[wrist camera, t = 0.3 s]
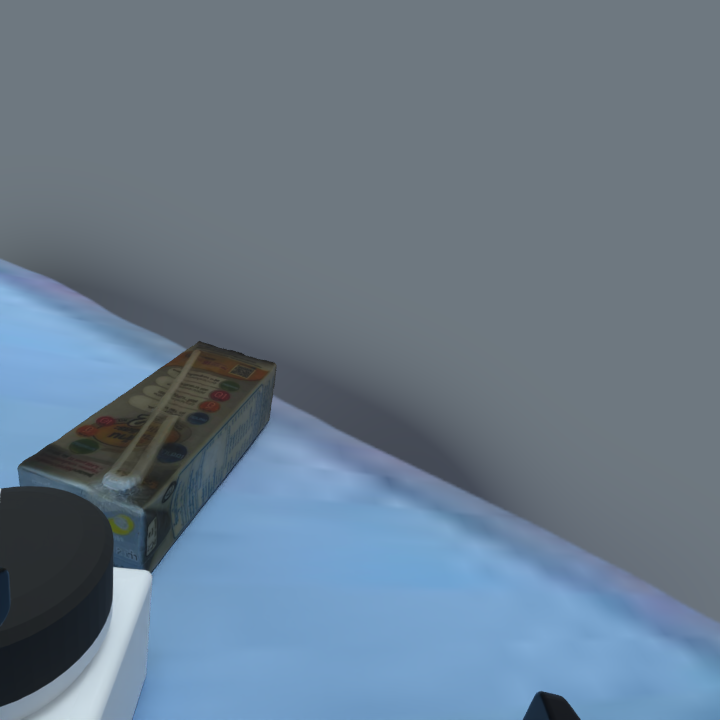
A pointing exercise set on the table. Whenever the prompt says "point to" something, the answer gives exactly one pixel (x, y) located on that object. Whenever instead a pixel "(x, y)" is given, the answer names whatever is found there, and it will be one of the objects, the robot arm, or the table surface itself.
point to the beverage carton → (161, 448)
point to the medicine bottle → (68, 612)
